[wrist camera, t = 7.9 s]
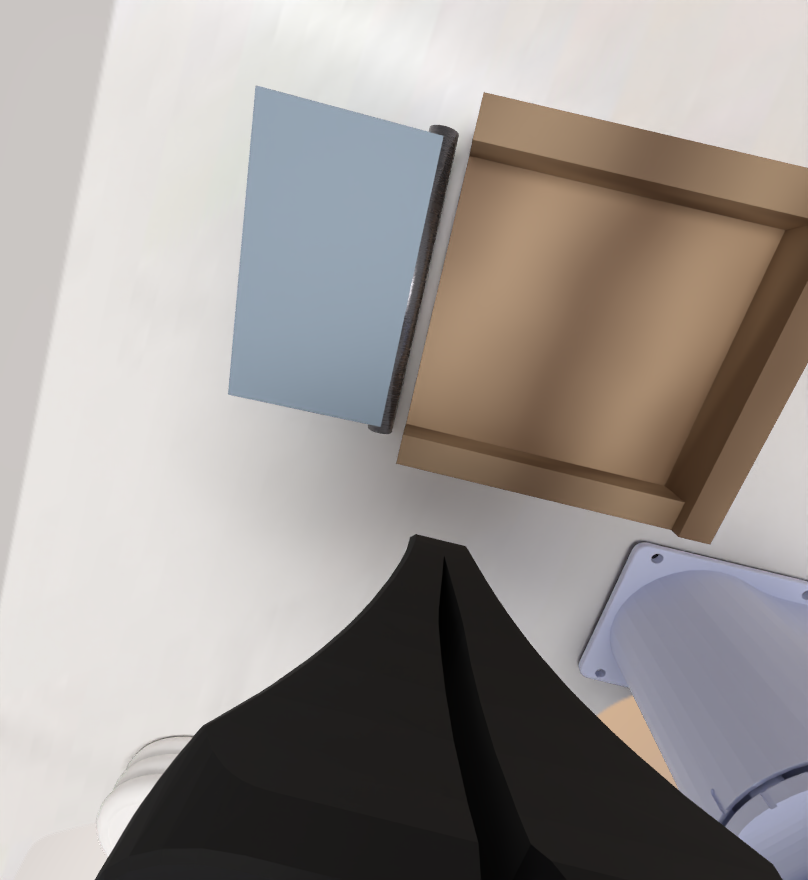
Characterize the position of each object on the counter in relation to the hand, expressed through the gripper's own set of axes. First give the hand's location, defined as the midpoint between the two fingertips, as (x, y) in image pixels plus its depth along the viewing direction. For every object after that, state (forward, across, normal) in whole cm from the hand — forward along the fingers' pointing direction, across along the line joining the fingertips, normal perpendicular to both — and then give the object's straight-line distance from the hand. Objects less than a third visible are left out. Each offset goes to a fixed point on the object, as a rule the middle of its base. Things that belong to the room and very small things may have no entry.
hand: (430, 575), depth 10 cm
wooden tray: (+9, -4, -6) cm, 12 cm away
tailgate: (+8, +2, -6) cm, 10 cm away
